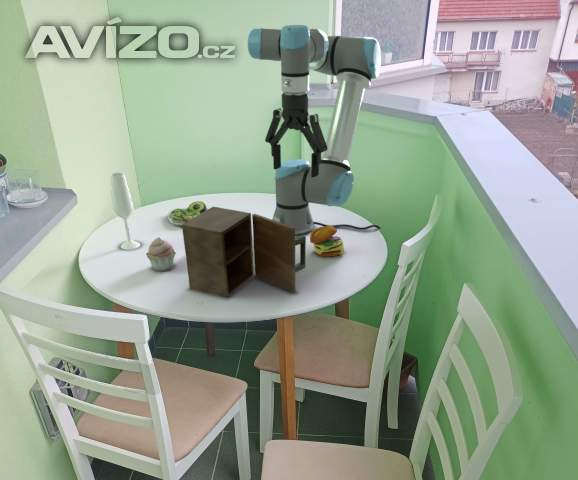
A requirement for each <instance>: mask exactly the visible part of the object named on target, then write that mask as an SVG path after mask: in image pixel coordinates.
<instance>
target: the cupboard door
mask: <svg viewBox="0 0 578 480" xmlns="http://www.w3.org/2000/svg"><path fill="white" fill-rule="evenodd" d="M272 219H273V218H272ZM272 219H271V218H268V217H266V216H262V215H261V214H257V213H253V214H252V213H251V222H252V242H253V263H254V277H255V278H257V279H260V280H262V281H264V282H267V283H269V284H271V285H273V286H275V287H278V288H281V289H283V290H284V291H287V292H290V293H292V294H294V293H296V273H299V272H300V271H302V270H305V269H306V265H307V264H306V262H307V261H306V259H307V258H306V256H307V255H306V251H307V249H306V248H307V244H306V243H307V236H306V234H300V235H297V236H296V235H295V227H292V226H289V225H286V224H283V223H280V222H277V221H274V220H272ZM298 245H299V262H298V263H296V246H298Z"/></svg>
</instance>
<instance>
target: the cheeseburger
mask: <svg viewBox="0 0 578 480" xmlns="http://www.w3.org/2000/svg"><path fill="white" fill-rule="evenodd" d="M328 225H329V224H328ZM310 232H311V233H310V236H309V241H310V243H311V244H313V249H314V252H315V254H316V255H318V256H320V257H325V258H327V257H329V258H330V257H334V256H335V257H336V256H338V255H339V256H341V255H342V254H344V252H345V247H344V244H343V243H344V240H343V238H341V236H338V235H336V233H338V229H337V227H333V226H332V225H331V224H330V225H329V226H319V227H316V228H313V229H312V230H311V231H310ZM335 235H336V236H335Z"/></svg>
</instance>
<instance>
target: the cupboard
mask: <svg viewBox="0 0 578 480" xmlns="http://www.w3.org/2000/svg"><path fill="white" fill-rule="evenodd" d="M181 228H182V229H181V230H182V236H183V244H184V251H185V252H184V253H185V261H186V268H187V275H188V277H187V278H188V285H189V290H191V291H196V292H200V293H205V294H208V295H212V296H216V297H221V298H224V299H228V298H229V297H230V296H231V295H233V294H234V293H235V292H237V291H238V290H239V289H240V288H241V287H243V286H244V285H245V284H247V283H248V282H249V281H250V280H251V279H252V278H253V277H255V264H254V244H253V224H252V213H251V212H247V211H241V210H235V209H229V208H225V207H217V206H211V207H209V209H208V210H206V211H205V212H203V213H201V214H199V215H198V216H196V217H194V218H193V219H191V220H189V221H187V222H186V223H184V224H182V227H181Z"/></svg>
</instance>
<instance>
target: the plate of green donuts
mask: <svg viewBox="0 0 578 480" xmlns="http://www.w3.org/2000/svg"><path fill="white" fill-rule="evenodd" d="M208 209H210V207H207V205H206V204H205V203H204V201H202V200H201V201H200V200H199V201H193V202H191V203H190V204H189V205H188V206H187V207H179V208H174V209H172V210H170V211H169V212H168V214H167V218H168V222H169V223H170V224H171V225H174V226H175V227H178V228H182V224H184V223H186V222H187V221H189V220H191V219H193V218H194V217H196V216H198V215H199V214H201V213H203V212H205V211H206V210H208Z"/></svg>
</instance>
